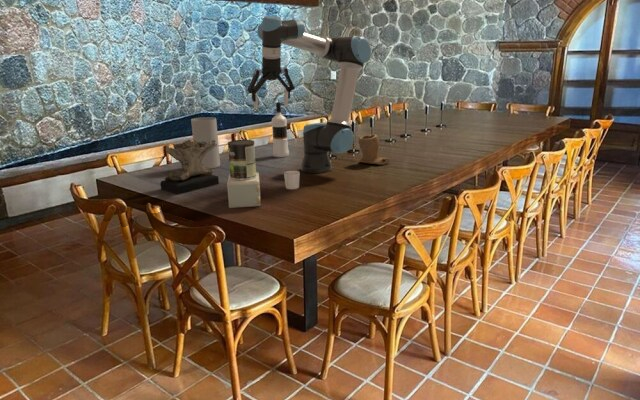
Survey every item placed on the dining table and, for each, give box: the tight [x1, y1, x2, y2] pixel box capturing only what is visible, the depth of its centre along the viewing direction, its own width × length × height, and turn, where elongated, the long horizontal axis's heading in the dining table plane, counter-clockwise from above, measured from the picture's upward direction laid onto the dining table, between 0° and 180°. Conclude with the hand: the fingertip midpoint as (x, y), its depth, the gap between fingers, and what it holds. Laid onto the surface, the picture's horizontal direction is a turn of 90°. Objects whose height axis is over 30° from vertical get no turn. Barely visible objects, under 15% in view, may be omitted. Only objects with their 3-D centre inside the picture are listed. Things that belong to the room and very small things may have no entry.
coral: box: [160, 139, 220, 196], centre depth 222 cm, size 25×20×22 cm
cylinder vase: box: [190, 116, 221, 170], centre depth 260 cm, size 12×12×25 cm
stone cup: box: [358, 134, 391, 166], centre depth 258 cm, size 15×12×15 cm
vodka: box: [271, 102, 290, 159], centre depth 281 cm, size 9×9×30 cm
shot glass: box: [283, 170, 301, 190], centre depth 219 cm, size 7×7×7 cm
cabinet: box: [226, 171, 261, 209], centre depth 199 cm, size 12×17×10 cm
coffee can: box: [227, 139, 257, 180], centre depth 196 cm, size 10×10×14 cm
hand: (271, 107), depth 214 cm, fingers open, 13 cm apart
